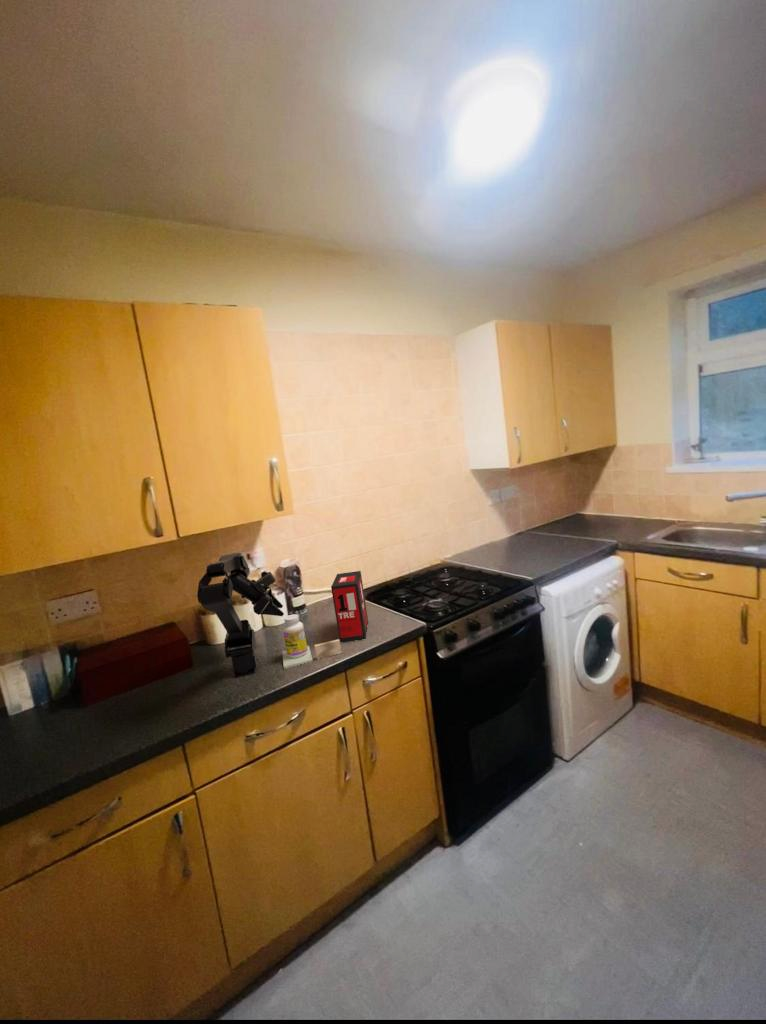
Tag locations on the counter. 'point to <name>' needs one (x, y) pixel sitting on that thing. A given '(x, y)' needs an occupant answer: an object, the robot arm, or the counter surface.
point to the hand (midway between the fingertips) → (282, 610)
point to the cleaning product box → (350, 606)
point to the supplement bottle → (294, 636)
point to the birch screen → (328, 649)
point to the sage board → (296, 659)
